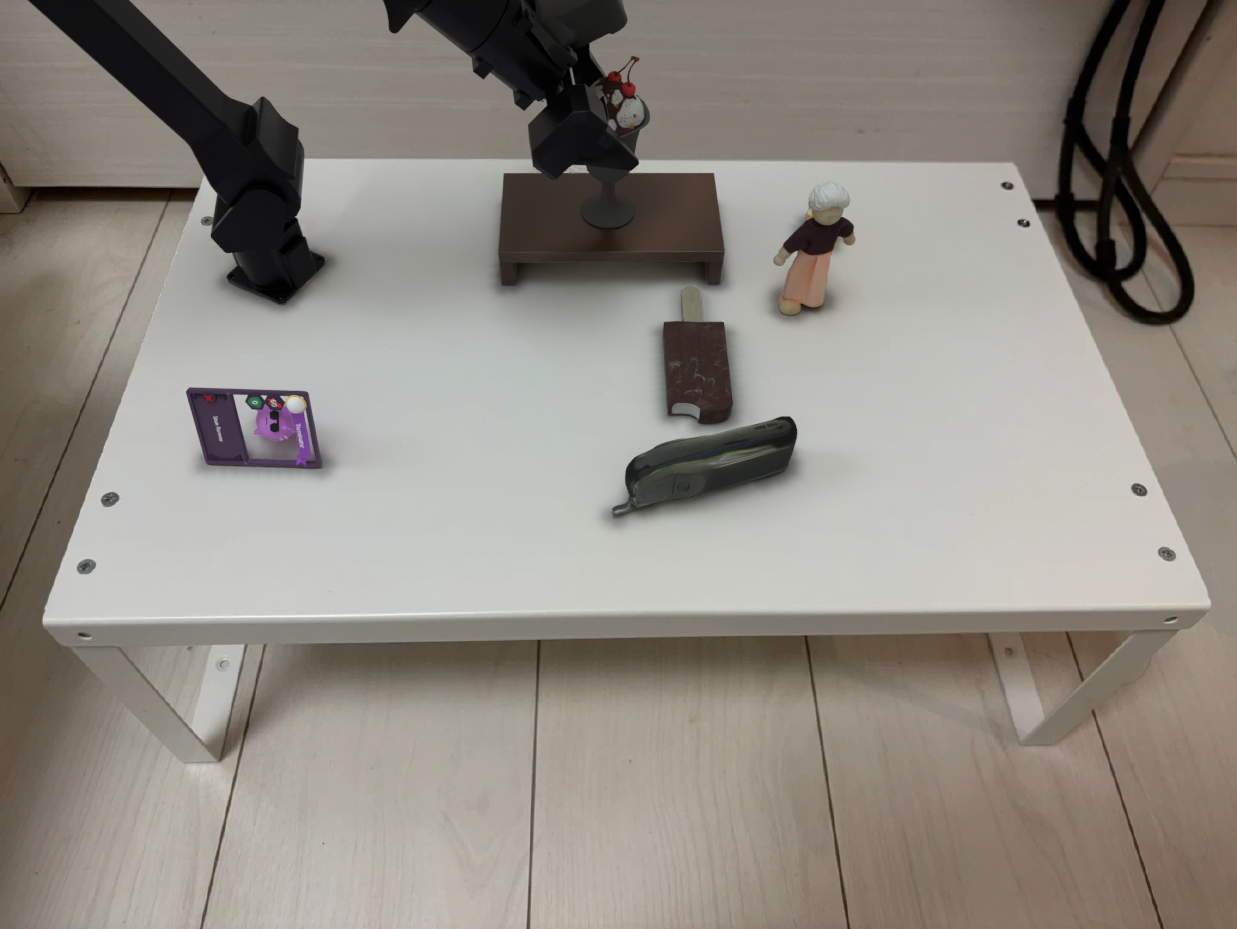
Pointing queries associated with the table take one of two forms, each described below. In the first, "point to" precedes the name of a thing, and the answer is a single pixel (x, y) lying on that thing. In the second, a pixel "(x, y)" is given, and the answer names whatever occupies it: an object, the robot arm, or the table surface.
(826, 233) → the grandmother figurine
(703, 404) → the ice cream bar
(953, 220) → the table surface
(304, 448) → the game card
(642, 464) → the swiss army knife
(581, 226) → the shelf
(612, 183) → the sundae
